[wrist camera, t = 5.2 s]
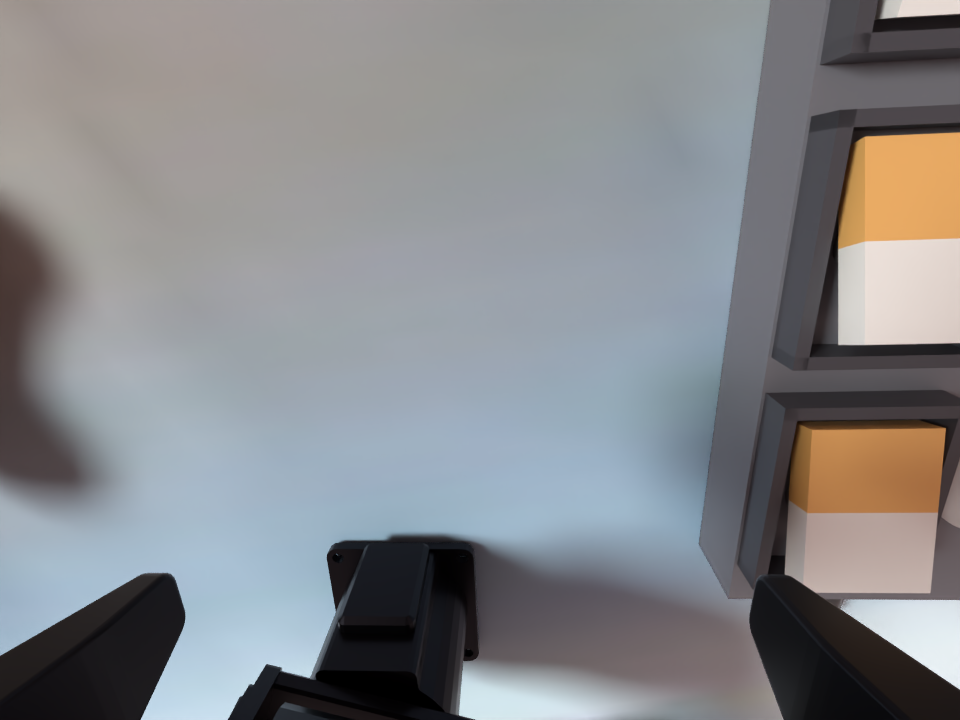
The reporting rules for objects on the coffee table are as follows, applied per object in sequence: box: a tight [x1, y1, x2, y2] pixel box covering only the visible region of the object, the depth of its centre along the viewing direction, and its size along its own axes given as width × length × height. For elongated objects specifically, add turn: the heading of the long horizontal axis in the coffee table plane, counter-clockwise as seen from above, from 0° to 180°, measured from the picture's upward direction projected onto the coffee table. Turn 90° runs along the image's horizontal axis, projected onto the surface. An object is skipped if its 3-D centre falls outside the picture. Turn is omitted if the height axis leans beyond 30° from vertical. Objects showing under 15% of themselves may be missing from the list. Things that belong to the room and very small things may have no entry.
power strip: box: [699, 0, 960, 609], centre depth 15 cm, size 29×10×4 cm, turn 2°
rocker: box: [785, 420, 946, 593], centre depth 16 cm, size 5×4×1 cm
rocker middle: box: [832, 132, 960, 345], centre depth 13 cm, size 5×4×1 cm
